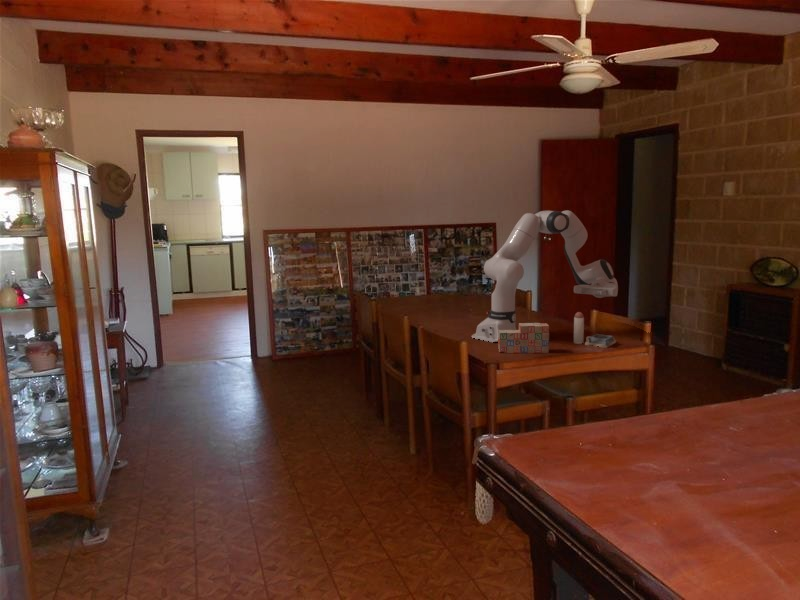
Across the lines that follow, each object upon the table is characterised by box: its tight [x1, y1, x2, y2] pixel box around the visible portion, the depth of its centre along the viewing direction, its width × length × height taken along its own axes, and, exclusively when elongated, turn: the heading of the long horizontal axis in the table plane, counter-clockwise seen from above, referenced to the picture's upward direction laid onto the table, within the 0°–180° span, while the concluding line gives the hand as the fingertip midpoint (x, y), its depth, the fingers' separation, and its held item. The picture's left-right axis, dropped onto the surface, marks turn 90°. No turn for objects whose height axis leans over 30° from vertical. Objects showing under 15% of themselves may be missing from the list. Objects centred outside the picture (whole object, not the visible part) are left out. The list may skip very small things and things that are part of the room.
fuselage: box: [573, 311, 585, 345], centre depth 274 cm, size 4×4×14 cm
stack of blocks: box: [497, 322, 550, 354], centre depth 261 cm, size 21×6×12 cm, turn 86°
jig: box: [584, 333, 617, 349], centre depth 272 cm, size 10×12×4 cm
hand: (589, 292), depth 281 cm, fingers open, 8 cm apart
